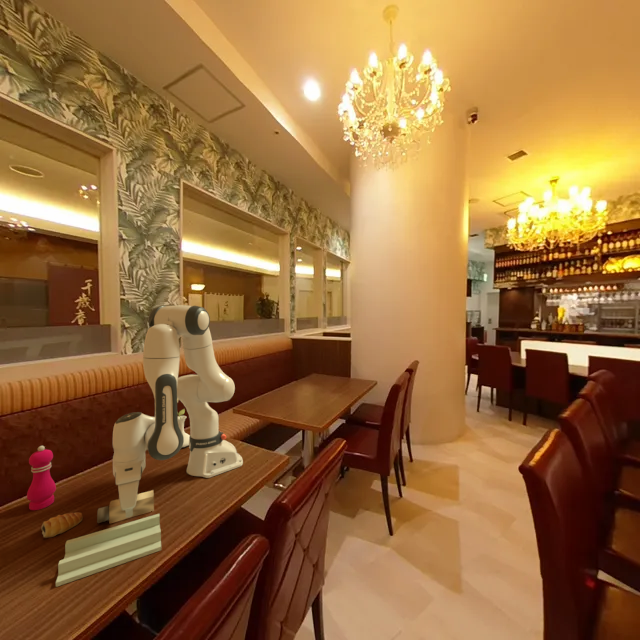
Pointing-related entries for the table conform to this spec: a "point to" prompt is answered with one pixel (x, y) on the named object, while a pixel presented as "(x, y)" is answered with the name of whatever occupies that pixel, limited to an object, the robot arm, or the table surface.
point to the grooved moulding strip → (109, 548)
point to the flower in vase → (181, 426)
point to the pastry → (60, 524)
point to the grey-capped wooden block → (115, 513)
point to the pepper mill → (41, 480)
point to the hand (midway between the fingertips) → (130, 507)
